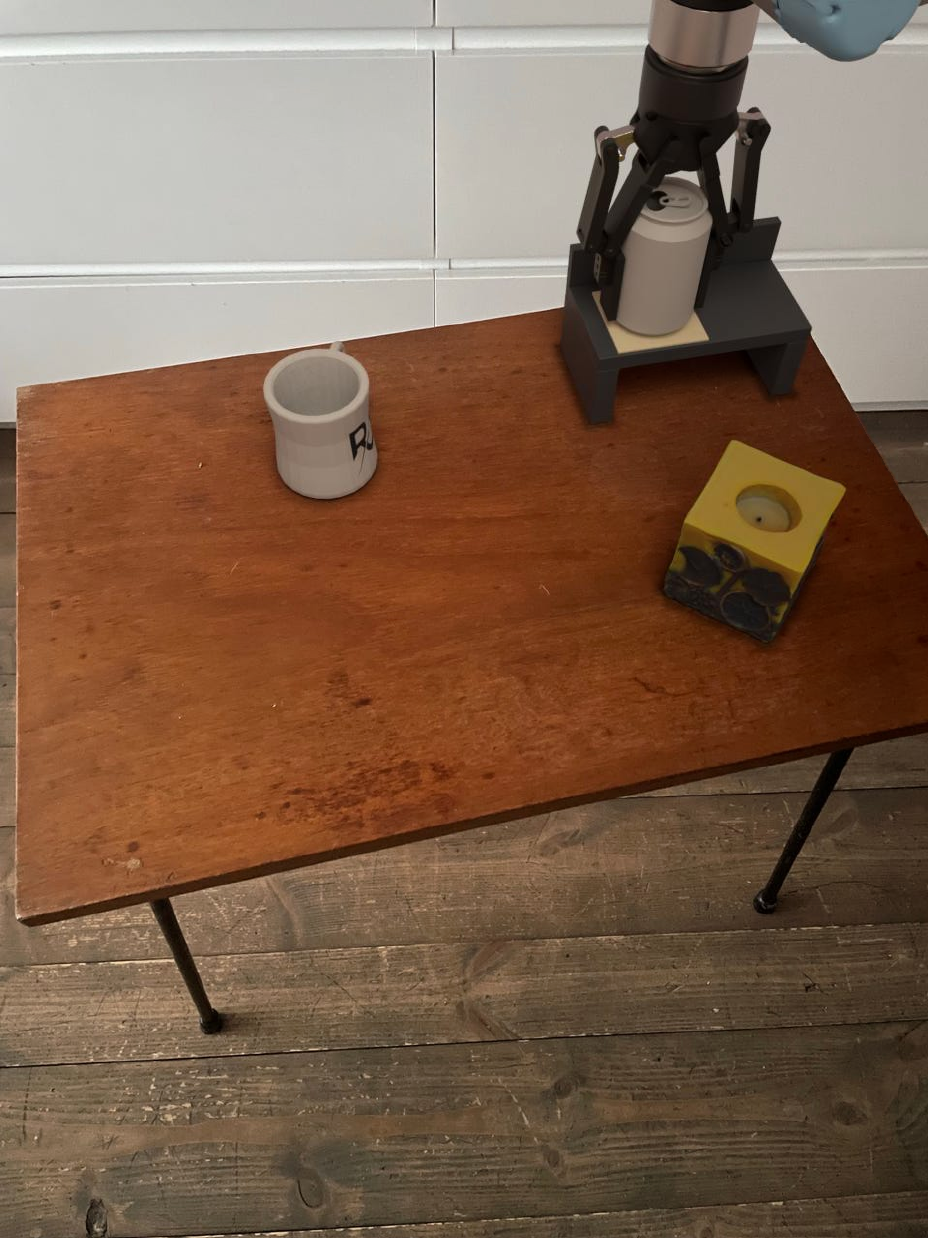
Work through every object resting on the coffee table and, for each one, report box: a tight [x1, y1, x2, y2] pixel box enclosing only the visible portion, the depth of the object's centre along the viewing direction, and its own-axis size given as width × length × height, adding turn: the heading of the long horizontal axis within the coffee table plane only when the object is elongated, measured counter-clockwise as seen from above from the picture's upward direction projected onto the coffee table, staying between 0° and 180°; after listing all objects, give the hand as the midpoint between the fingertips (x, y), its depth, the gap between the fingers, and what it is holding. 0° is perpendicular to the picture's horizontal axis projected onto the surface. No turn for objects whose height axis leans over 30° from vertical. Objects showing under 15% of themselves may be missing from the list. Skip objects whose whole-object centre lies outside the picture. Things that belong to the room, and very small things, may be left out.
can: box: [616, 175, 712, 336], centre depth 91 cm, size 8×8×12 cm
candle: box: [662, 439, 847, 644], centre depth 85 cm, size 10×10×10 cm
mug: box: [262, 340, 379, 500], centre depth 93 cm, size 12×9×10 cm
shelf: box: [559, 216, 813, 425], centre depth 99 cm, size 20×11×12 cm, turn 102°
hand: (651, 304), depth 95 cm, fingers closed on can, 7 cm apart
